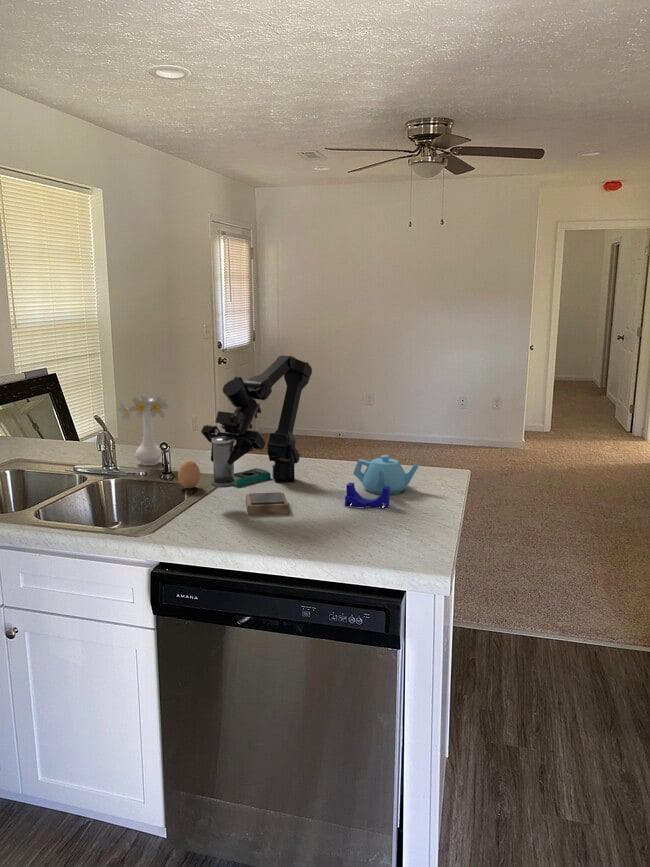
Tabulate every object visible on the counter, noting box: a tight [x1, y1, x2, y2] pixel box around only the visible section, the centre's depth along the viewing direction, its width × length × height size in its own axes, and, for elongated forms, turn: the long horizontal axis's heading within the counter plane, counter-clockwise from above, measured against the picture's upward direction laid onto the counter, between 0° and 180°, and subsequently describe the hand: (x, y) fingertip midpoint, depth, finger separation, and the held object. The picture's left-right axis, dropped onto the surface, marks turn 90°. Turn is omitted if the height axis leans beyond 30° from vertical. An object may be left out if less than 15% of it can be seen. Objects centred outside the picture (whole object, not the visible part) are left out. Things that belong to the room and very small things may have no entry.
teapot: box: [352, 454, 419, 495], centre depth 207 cm, size 15×15×11 cm
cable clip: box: [344, 482, 391, 509], centre depth 191 cm, size 12×4×6 cm, turn 74°
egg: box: [177, 459, 201, 490], centre depth 205 cm, size 7×7×9 cm
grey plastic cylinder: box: [211, 436, 236, 489], centre depth 186 cm, size 7×7×13 cm
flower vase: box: [117, 391, 172, 467], centre depth 231 cm, size 13×18×25 cm
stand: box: [245, 492, 289, 516], centre depth 188 cm, size 11×11×3 cm
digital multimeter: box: [234, 467, 271, 488], centre depth 215 cm, size 7×15×3 cm, turn 136°
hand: (220, 462), depth 184 cm, fingers closed on grey plastic cylinder, 6 cm apart
